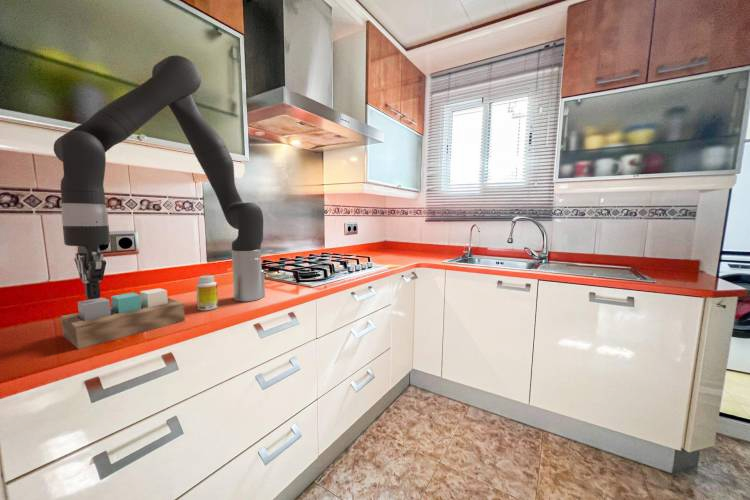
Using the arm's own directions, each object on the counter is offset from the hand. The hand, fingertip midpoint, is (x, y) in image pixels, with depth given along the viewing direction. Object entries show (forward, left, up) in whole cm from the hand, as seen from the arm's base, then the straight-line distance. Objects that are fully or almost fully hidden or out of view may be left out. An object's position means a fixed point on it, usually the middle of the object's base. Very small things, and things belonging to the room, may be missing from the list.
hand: (93, 298), depth 69 cm
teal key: (-6, 0, -5) cm, 8 cm away
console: (-6, 0, -9) cm, 11 cm away
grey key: (0, 0, -5) cm, 5 cm away
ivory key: (-12, 0, -5) cm, 13 cm away
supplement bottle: (-26, 0, -9) cm, 28 cm away
